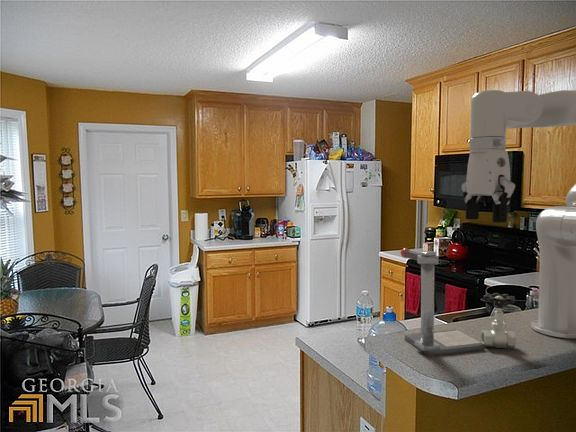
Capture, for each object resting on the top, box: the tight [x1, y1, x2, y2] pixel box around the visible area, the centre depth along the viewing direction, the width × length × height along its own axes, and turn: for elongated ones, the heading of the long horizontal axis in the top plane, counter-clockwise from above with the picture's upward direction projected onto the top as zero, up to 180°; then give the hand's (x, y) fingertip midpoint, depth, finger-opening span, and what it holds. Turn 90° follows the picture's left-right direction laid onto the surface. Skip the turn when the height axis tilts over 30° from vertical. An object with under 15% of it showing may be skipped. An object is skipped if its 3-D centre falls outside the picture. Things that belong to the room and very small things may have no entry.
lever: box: [400, 248, 439, 266], centre depth 103 cm, size 13×4×2 cm, turn 14°
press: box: [404, 250, 486, 357], centre depth 104 cm, size 15×11×23 cm
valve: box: [481, 292, 517, 349], centre depth 102 cm, size 7×7×12 cm
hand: (485, 220), depth 103 cm, fingers open, 9 cm apart
